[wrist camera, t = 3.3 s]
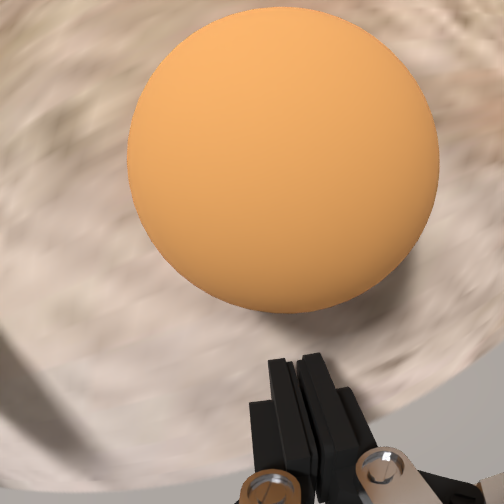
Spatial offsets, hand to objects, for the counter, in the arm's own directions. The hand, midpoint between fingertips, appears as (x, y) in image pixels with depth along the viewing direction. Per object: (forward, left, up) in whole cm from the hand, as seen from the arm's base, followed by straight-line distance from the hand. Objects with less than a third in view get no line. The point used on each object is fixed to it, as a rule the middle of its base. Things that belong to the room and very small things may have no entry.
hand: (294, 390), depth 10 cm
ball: (0, +7, +2) cm, 7 cm away
